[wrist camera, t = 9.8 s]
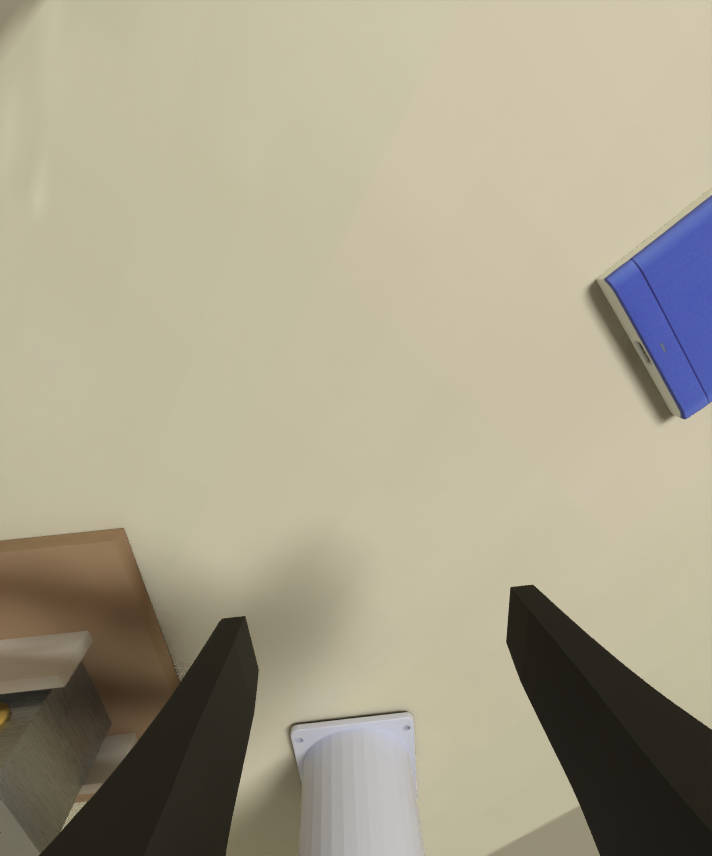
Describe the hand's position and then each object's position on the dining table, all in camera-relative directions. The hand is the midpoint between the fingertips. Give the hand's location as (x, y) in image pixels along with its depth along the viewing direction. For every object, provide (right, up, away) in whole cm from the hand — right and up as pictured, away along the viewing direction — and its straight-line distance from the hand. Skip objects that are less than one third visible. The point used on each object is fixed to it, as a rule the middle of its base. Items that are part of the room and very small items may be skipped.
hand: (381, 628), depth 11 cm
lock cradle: (-17, -9, +13) cm, 24 cm away
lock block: (-17, -9, +12) cm, 23 cm away
